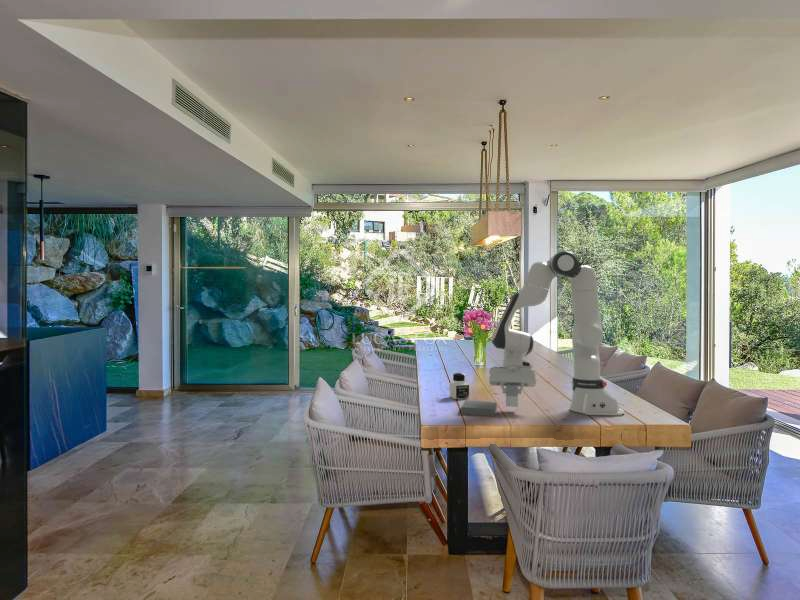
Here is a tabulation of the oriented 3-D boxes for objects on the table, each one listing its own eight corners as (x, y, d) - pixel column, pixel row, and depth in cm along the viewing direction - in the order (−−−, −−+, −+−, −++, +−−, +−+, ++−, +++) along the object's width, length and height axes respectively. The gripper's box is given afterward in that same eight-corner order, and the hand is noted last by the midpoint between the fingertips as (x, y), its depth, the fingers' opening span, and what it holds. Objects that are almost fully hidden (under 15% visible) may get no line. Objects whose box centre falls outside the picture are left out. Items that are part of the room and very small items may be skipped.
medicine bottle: (456, 399, 258) (456, 375, 257) (449, 397, 264) (449, 372, 264) (469, 398, 260) (469, 374, 260) (462, 395, 267) (462, 371, 267)
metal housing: (518, 404, 235) (518, 383, 235) (517, 406, 230) (517, 385, 230) (506, 403, 237) (506, 383, 236) (505, 406, 232) (505, 385, 232)
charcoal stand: (496, 408, 239) (496, 402, 239) (494, 416, 226) (494, 409, 226) (465, 406, 243) (465, 400, 243) (461, 414, 229) (461, 407, 229)
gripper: (489, 362, 242) (487, 388, 233) (535, 363, 237) (535, 389, 228) (490, 370, 247) (488, 396, 238) (535, 372, 242) (535, 398, 232)
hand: (511, 393), depth 233 cm, fingers closed on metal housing, 5 cm apart
